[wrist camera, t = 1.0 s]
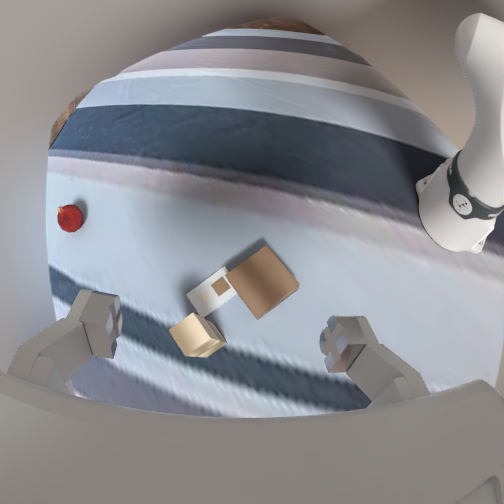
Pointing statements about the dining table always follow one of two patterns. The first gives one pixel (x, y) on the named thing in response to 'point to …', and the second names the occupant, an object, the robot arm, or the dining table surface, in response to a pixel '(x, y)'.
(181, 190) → the dining table surface
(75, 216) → the red rounded piece
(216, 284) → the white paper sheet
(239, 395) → the dining table surface
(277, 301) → the plinth
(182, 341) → the pillar
